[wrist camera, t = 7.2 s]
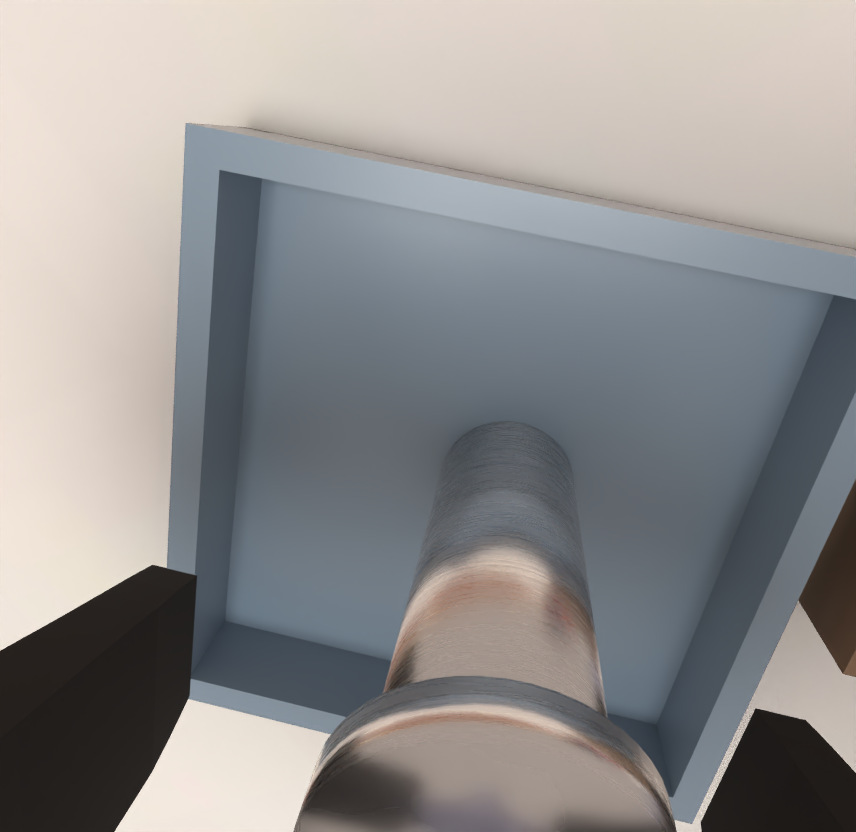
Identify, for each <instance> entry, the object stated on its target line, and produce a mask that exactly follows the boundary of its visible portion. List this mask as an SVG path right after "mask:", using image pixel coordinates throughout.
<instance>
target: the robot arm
mask: <svg viewBox="0 0 856 832" xmlns="http://www.w3.org/2000/svg"><path fill="white" fill-rule="evenodd" d="M196 587H197V575H193V574H189V573H184V572H180V571H176V570H172V569H168V568H163V567H159V566H155V565H151V566H150V567H148V568H146V569H144V570H142V571H140V572H138V573H137V574H135V575H133V576H131V577H130V578H128V579H126V580H124V581H123V582H121V583H119V584H117V585H116V586H114V587H112V588H110V589H109V590H107V591H105V592H104V593H102V594H100V595H98V596H97V597H95V598H93V599H91V600H90V601H88V602H86V603H84V604H83V605H81V606H79V607H77V608H76V609H74V610H72V611H70V612H69V613H67V614H65V615H63V616H62V617H60V618H58V619H56V620H55V621H53V622H51V623H49V624H48V625H46V626H44V627H42V628H40V629H39V630H37V631H35V632H33V633H31V634H30V635H28V636H26V637H24V638H22V639H21V640H19V641H17V642H15V643H13V644H12V645H10V646H8V647H6V648H4V649H3V650H1V651H0V832H114V831H115V830H116V828H117V826H118V825H119V823H120V822H121V820H122V819H123V817H124V815H125V814H126V812H127V811H128V809H129V808H130V806H131V804H132V803H133V801H134V800H135V798H136V797H137V795H138V793H139V792H140V790H141V789H142V787H143V785H144V784H145V782H146V781H147V779H148V777H149V776H150V774H151V773H152V771H153V769H154V767H155V765H156V763H157V761H158V759H159V757H160V755H161V753H162V751H163V749H164V747H165V745H166V743H167V741H168V739H169V737H170V735H171V733H172V731H173V729H174V727H175V725H176V723H177V721H178V719H179V717H180V715H181V713H182V711H183V708H184V706H185V704H186V702H187V700H188V698H189V696H190V683H191V667H192V651H193V635H194V619H195V603H196ZM701 828H702V832H856V773H855V772H854V771H853V770H852V769H851V767H850V766H849V765H848V764H847V763H846V762H845V761H844V760H843V759H842V758H841V757H840V755H839V754H838V753H837V752H836V751H835V750H834V749H833V748H832V747H831V746H830V745H829V744H828V743H827V742H826V741H825V739H824V738H823V737H822V736H821V735H820V734H819V733H818V732H817V731H816V730H815V729H814V728H813V727H812V726H811V725H810V724H809V723H808V722H807V721H806V720H802V719H798V718H794V717H790V716H785V715H781V714H777V713H773V712H769V711H764V710H760V709H755V711H754V713H753V715H752V717H751V719H750V721H749V723H748V725H747V728H746V730H745V732H744V734H743V736H742V738H741V740H740V742H739V744H738V746H737V748H736V750H735V752H734V755H733V757H732V759H731V761H730V763H729V765H728V767H727V769H726V771H725V773H724V775H723V777H722V779H721V782H720V784H719V786H718V788H717V790H716V792H715V794H714V796H713V798H712V800H711V802H710V804H709V806H708V809H707V811H706V813H705V815H704V817H703V819H702V821H701Z"/></svg>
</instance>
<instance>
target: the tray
mask: <svg viewBox="0 0 856 832" xmlns="http://www.w3.org/2000/svg"><path fill="white" fill-rule="evenodd" d="M495 421H515V422H521V423H525V424H528V425H531V426H534V427H536V428H538V429H540V430H542V431H544V432H545V433H547V434H548V435H549V436H551V437H552V438H553V439H554V440H555V441H556V442H557V443H558V444H559V445H560V446H561V448H562V449H563V450H564V452H565V454H566V456H567V457H568V459H569V462H570V465H571V469H572V473H573V480H574V487H575V494H576V501H577V508H578V515H579V522H580V529H581V536H582V543H583V550H584V557H585V564H586V571H587V578H588V585H589V592H590V599H591V606H592V613H593V620H594V627H595V634H596V641H597V648H598V655H599V662H600V669H601V676H602V683H603V690H604V696H605V703H606V710H607V717H608V719H610V720H611V721H612V722H614V723H615V724H617V725H618V726H619V727H621V728H622V729H623V730H624V731H625V732H626V733H627V734H628V735H629V736H630V737H631V738H632V739H633V740H634V741H636V742H637V743H638V745H639V746H640V747H641V748H642V749H643V751H644V752H645V753H646V754H647V756H648V757H649V758H650V759H651V761H652V762H653V764H654V766H655V768H656V769H657V771H658V773H659V774H660V776H661V778H662V780H663V783H664V785H665V788H666V790H667V793H668V796H669V800H670V804H671V809H672V813H673V818H674V820H678V821H682V822H686V823H690V824H692V823H693V821H694V819H695V816H696V814H697V812H698V810H699V808H700V806H701V804H702V802H703V800H704V797H705V795H706V793H707V791H708V789H709V787H710V785H711V783H712V781H713V779H714V776H715V774H716V772H717V770H718V768H719V766H720V764H721V762H722V760H723V757H724V755H725V753H726V751H727V749H728V747H729V745H730V743H731V741H732V739H733V736H734V734H735V732H736V730H737V728H738V726H739V724H740V722H741V720H742V717H743V715H744V713H745V711H746V709H747V707H748V705H749V703H750V701H751V699H752V696H753V694H754V692H755V690H756V688H757V686H758V684H759V682H760V680H761V677H762V675H763V673H764V671H765V669H766V667H767V665H768V663H769V661H770V659H771V656H772V654H773V652H774V650H775V648H776V646H777V644H778V642H779V640H780V637H781V635H782V633H783V631H784V629H785V627H786V625H787V623H788V621H789V618H790V616H791V614H792V612H793V610H794V608H795V606H796V604H797V602H798V600H799V597H800V595H801V593H802V591H803V589H804V587H805V585H806V583H807V581H808V578H809V576H810V574H811V572H812V570H813V568H814V566H815V564H816V562H817V560H818V557H819V555H820V553H821V551H822V549H823V547H824V545H825V543H826V541H827V538H828V536H829V534H830V532H831V530H832V528H833V526H834V524H835V522H836V520H837V517H838V515H839V513H840V511H841V509H842V507H843V505H844V503H845V501H846V498H847V496H848V494H849V492H850V490H851V488H852V486H853V484H854V482H855V479H856V249H852V248H847V247H842V246H837V245H832V244H827V243H822V242H817V241H812V240H807V239H802V238H796V237H791V236H786V235H781V234H776V233H771V232H766V231H761V230H756V229H751V228H746V227H741V226H736V225H731V224H726V223H721V222H716V221H711V220H706V219H701V218H696V217H691V216H686V215H681V214H676V213H671V212H666V211H661V210H656V209H651V208H646V207H641V206H636V205H631V204H626V203H621V202H616V201H611V200H606V199H601V198H596V197H591V196H586V195H581V194H576V193H571V192H566V191H561V190H556V189H551V188H546V187H541V186H536V185H531V184H526V183H521V182H516V181H511V180H506V179H501V178H496V177H491V176H486V175H481V174H476V173H471V172H466V171H461V170H456V169H451V168H446V167H441V166H436V165H431V164H426V163H421V162H416V161H411V160H406V159H401V158H396V157H391V156H386V155H381V154H376V153H371V152H366V151H361V150H356V149H351V148H346V147H341V146H336V145H331V144H326V143H321V142H316V141H311V140H306V139H301V138H296V137H291V136H286V135H281V134H276V133H271V132H266V131H261V130H256V129H251V128H246V127H233V126H219V125H205V124H192V123H186V128H185V151H184V175H183V199H182V223H181V247H180V270H179V294H178V318H177V342H176V366H175V390H174V413H173V437H172V461H171V485H170V509H169V532H168V556H167V568H168V569H172V570H176V571H180V572H184V573H189V574H193V575H197V587H196V603H195V619H194V635H193V651H192V667H191V683H190V696H189V698H188V699H191V700H195V701H199V702H203V703H207V704H211V705H215V706H219V707H223V708H227V709H231V710H235V711H240V712H244V713H248V714H252V715H256V716H260V717H264V718H268V719H272V720H276V721H280V722H284V723H288V724H292V725H296V726H300V727H304V728H308V729H312V730H316V731H320V732H324V733H328V734H332V733H333V731H334V730H335V729H336V727H337V726H338V725H339V724H340V723H341V722H342V721H343V720H344V719H345V718H346V717H347V716H348V715H350V714H351V713H352V712H353V711H355V710H356V709H358V708H359V707H360V706H362V705H363V704H365V703H366V702H368V701H370V700H371V699H373V698H375V697H377V696H379V695H381V694H383V692H384V688H385V684H386V680H387V676H388V673H389V669H390V665H391V661H392V657H393V654H394V650H395V646H396V642H397V638H398V635H399V631H400V627H401V623H402V619H403V615H404V612H405V608H406V604H407V600H408V596H409V593H410V589H411V585H412V581H413V577H414V574H415V570H416V566H417V562H418V558H419V554H420V551H421V547H422V543H423V539H424V535H425V532H426V528H427V524H428V520H429V516H430V513H431V509H432V505H433V501H434V497H435V494H436V490H437V486H438V482H439V478H440V474H441V471H442V467H443V464H444V460H445V458H446V456H447V454H448V452H449V450H450V449H451V447H452V446H453V444H454V443H455V442H456V441H457V440H458V439H459V438H460V437H461V436H463V435H464V434H465V433H467V432H468V431H470V430H471V429H473V428H476V427H478V426H480V425H483V424H486V423H490V422H495Z"/></svg>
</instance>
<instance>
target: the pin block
mask: <svg viewBox="0 0 856 832" xmlns="http://www.w3.org/2000/svg"><path fill="white" fill-rule="evenodd" d="M799 602H800V604H801V605H802V607H803V608H804V610H805V612H806V613H807V615H808V617H809V618H810V620H811V622H812V623H813V625H814V627H815V628H816V630H817V632H818V633H819V635H820V637H821V638H822V640H823V642H824V643H825V645H826V647H827V648H828V650H829V652H830V653H831V655H832V657H833V658H834V660H835V662H836V663H837V665H838V667H839V668H840V670H841V672H842V673H843V674H846V675H850V676H854V677H856V479H855V482H854V484H853V486H852V488H851V490H850V492H849V494H848V496H847V498H846V501H845V503H844V505H843V507H842V509H841V511H840V513H839V515H838V517H837V520H836V522H835V524H834V526H833V528H832V530H831V532H830V534H829V536H828V538H827V541H826V543H825V545H824V547H823V549H822V551H821V553H820V555H819V557H818V560H817V562H816V564H815V566H814V568H813V570H812V572H811V574H810V576H809V578H808V581H807V583H806V585H805V587H804V589H803V591H802V593H801V595H800V597H799Z"/></svg>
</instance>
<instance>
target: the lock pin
mask: <svg viewBox="0 0 856 832" xmlns="http://www.w3.org/2000/svg"><path fill="white" fill-rule="evenodd" d="M294 832H677V831H676V827H675V822H674V818H673V813H672V809H671V804H670V800H669V796H668V793H667V790H666V788H665V785H664V783H663V780H662V778H661V776H660V774H659V773H658V771H657V769H656V768H655V766H654V764H653V762H652V761H651V759H650V758H649V757H648V756H647V754H646V753H645V752H644V751H643V749H642V748H641V747H640V746H639V745H638V743H637V742H636V741H634V740H633V739H632V738H631V737H630V736H629V735H628V734H627V733H626V732H625V731H624V730H623V729H622V728H621V727H619V726H618V725H617V724H615V723H614V722H612V721H611V720H610V719H608V717H607V710H606V703H605V696H604V690H603V683H602V676H601V669H600V662H599V655H598V648H597V641H596V634H595V627H594V620H593V613H592V606H591V599H590V592H589V585H588V578H587V571H586V564H585V557H584V550H583V543H582V536H581V529H580V522H579V515H578V508H577V501H576V494H575V487H574V480H573V473H572V469H571V465H570V462H569V459H568V457H567V456H566V454H565V452H564V450H563V449H562V448H561V446H560V445H559V444H558V443H557V442H556V441H555V440H554V439H553V438H552V437H551V436H549V435H548V434H547V433H545V432H544V431H542V430H540V429H538V428H536V427H534V426H531V425H528V424H525V423H521V422H515V421H495V422H490V423H486V424H483V425H480V426H478V427H476V428H473V429H471V430H470V431H468V432H467V433H465V434H464V435H463V436H461V437H460V438H459V439H458V440H457V441H456V442H455V443H454V444H453V446H452V447H451V449H450V450H449V452H448V454H447V456H446V458H445V460H444V464H443V467H442V471H441V474H440V478H439V482H438V486H437V490H436V494H435V497H434V501H433V505H432V509H431V513H430V516H429V520H428V524H427V528H426V532H425V535H424V539H423V543H422V547H421V551H420V554H419V558H418V562H417V566H416V570H415V574H414V577H413V581H412V585H411V589H410V593H409V596H408V600H407V604H406V608H405V612H404V615H403V619H402V623H401V627H400V631H399V635H398V638H397V642H396V646H395V650H394V654H393V657H392V661H391V665H390V669H389V673H388V676H387V680H386V684H385V688H384V692H383V694H381V695H379V696H377V697H375V698H373V699H371V700H370V701H368V702H366V703H365V704H363V705H362V706H360V707H359V708H358V709H356V710H355V711H353V712H352V713H351V714H350V715H348V716H347V717H346V718H345V719H344V720H343V721H342V722H341V723H340V724H339V725H338V726H337V727H336V729H335V730H334V731H333V733H332V734H331V736H330V737H329V738H328V740H327V741H326V743H325V745H324V747H323V749H322V751H321V753H320V755H319V757H318V760H317V763H316V766H315V769H314V772H313V775H312V778H311V781H310V784H309V787H308V790H307V793H306V795H305V798H304V801H303V804H302V807H301V810H300V813H299V816H298V819H297V822H296V825H295V828H294Z"/></svg>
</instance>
